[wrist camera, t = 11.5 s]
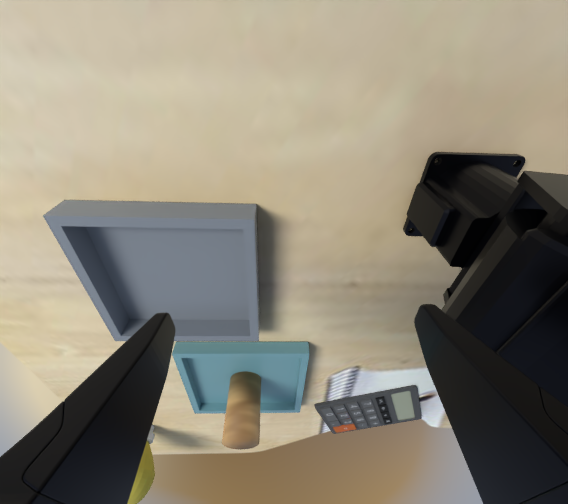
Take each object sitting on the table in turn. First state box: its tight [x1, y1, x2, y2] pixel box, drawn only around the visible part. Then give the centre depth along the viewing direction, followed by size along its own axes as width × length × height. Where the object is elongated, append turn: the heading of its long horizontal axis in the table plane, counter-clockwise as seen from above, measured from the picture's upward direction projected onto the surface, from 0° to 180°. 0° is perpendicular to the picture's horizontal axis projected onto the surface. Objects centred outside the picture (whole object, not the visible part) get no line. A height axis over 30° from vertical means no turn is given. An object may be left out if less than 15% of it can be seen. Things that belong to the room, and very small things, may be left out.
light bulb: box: [128, 425, 155, 504], centre depth 41 cm, size 7×7×10 cm
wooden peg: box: [222, 371, 261, 449], centre depth 32 cm, size 4×4×7 cm
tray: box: [172, 342, 309, 413], centre depth 35 cm, size 15×15×2 cm
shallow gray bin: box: [43, 200, 260, 341], centre depth 23 cm, size 14×14×2 cm
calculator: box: [315, 385, 421, 434], centre depth 43 cm, size 12×1×15 cm
